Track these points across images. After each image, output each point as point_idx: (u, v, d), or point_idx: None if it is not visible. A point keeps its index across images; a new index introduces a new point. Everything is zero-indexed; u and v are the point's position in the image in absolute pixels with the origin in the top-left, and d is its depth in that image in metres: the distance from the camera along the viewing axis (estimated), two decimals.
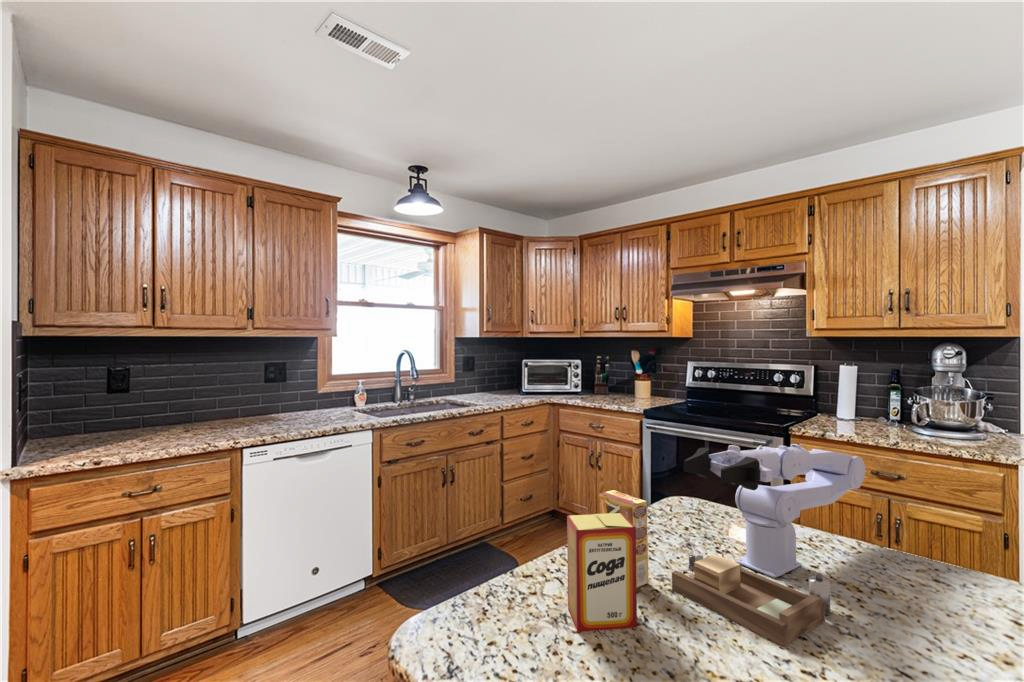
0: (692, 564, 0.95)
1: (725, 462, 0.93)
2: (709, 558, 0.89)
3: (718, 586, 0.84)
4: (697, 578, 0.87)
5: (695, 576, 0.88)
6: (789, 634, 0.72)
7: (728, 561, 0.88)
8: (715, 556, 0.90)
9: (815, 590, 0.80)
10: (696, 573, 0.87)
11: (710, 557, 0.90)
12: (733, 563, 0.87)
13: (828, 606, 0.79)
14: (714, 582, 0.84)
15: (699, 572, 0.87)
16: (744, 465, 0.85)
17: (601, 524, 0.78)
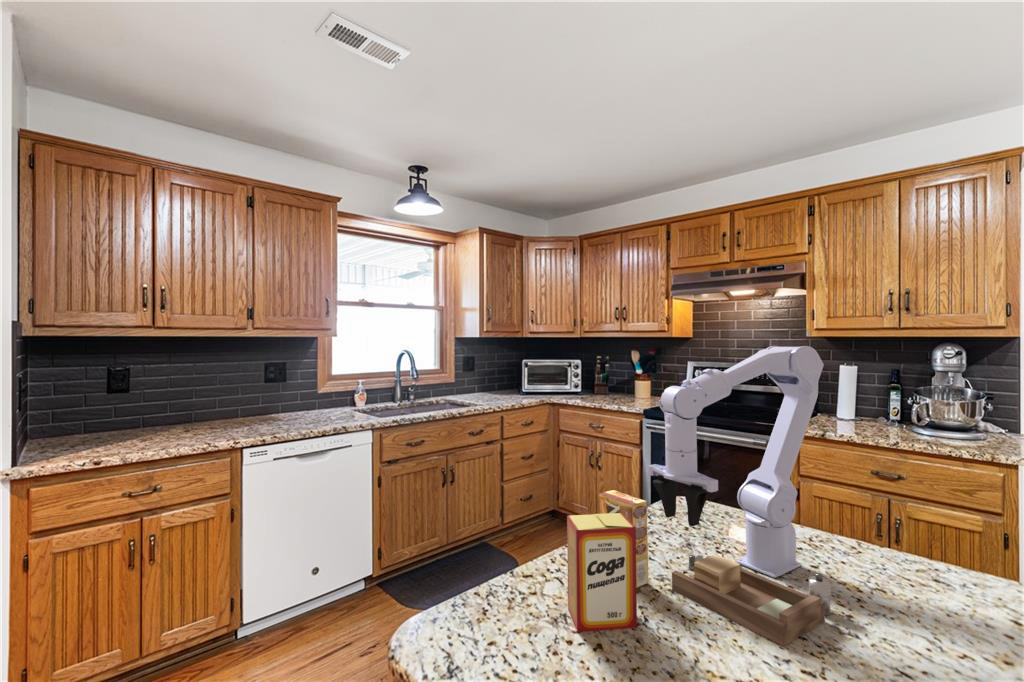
0: (692, 564, 0.95)
1: None
2: (709, 558, 0.89)
3: (718, 586, 0.84)
4: (697, 578, 0.87)
5: (695, 576, 0.88)
6: (789, 634, 0.72)
7: (728, 561, 0.88)
8: (715, 556, 0.90)
9: (815, 590, 0.80)
10: (696, 573, 0.87)
11: (710, 557, 0.90)
12: (733, 563, 0.87)
13: (828, 606, 0.79)
14: (714, 582, 0.84)
15: (699, 572, 0.87)
16: (693, 505, 0.89)
17: (601, 524, 0.78)
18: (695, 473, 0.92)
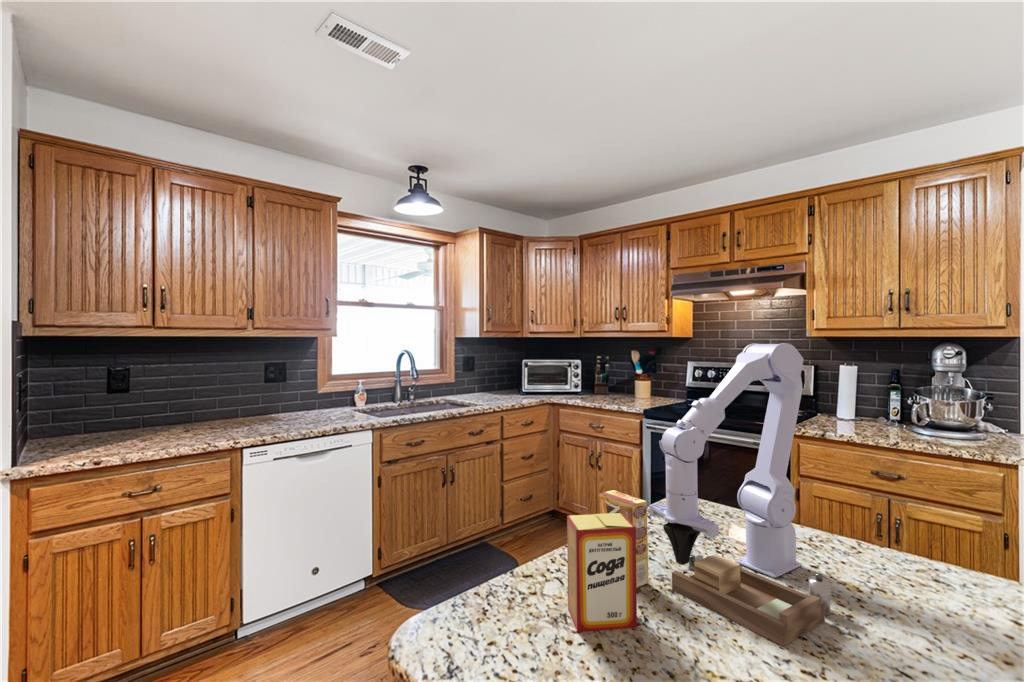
0: (692, 564, 0.95)
1: None
2: (709, 558, 0.89)
3: (718, 586, 0.84)
4: (697, 578, 0.87)
5: (695, 576, 0.88)
6: (789, 634, 0.72)
7: (728, 561, 0.88)
8: (715, 556, 0.90)
9: (815, 590, 0.80)
10: (696, 573, 0.87)
11: (710, 557, 0.90)
12: (733, 563, 0.87)
13: (828, 606, 0.79)
14: (714, 582, 0.84)
15: (699, 572, 0.87)
16: (683, 544, 0.91)
17: (601, 524, 0.78)
18: (696, 516, 0.91)
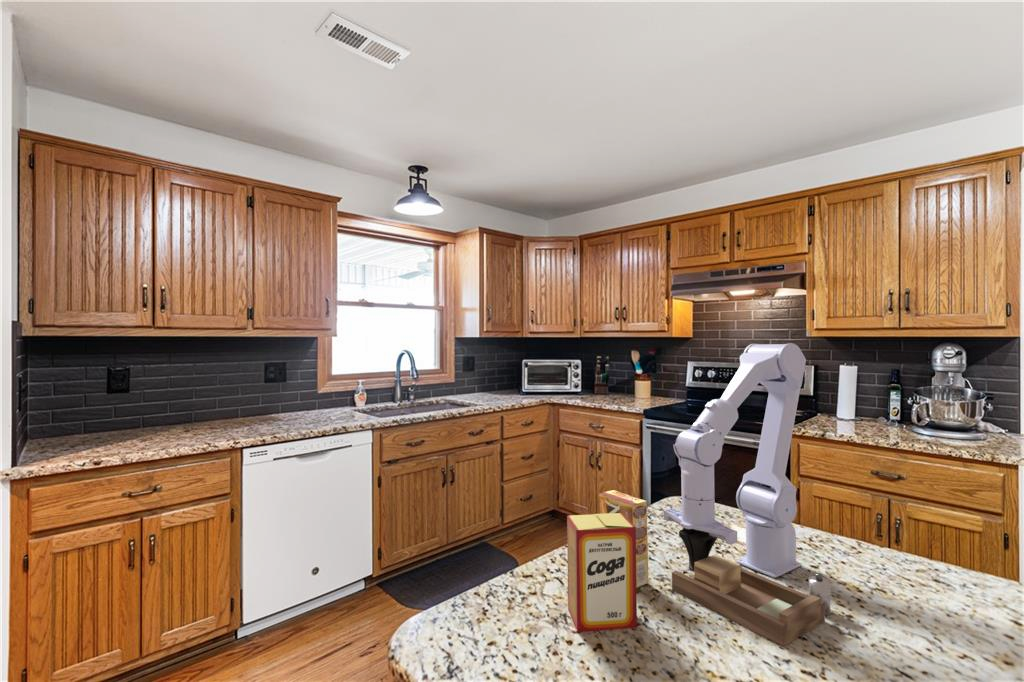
0: None
1: None
2: (709, 558, 0.89)
3: (718, 586, 0.83)
4: (697, 578, 0.87)
5: (695, 576, 0.87)
6: (789, 634, 0.72)
7: (728, 561, 0.88)
8: (715, 556, 0.90)
9: (815, 590, 0.80)
10: (696, 573, 0.87)
11: (710, 557, 0.89)
12: (733, 563, 0.87)
13: (828, 606, 0.79)
14: (715, 582, 0.84)
15: (699, 572, 0.87)
16: (699, 551, 0.88)
17: (601, 524, 0.78)
18: (713, 522, 0.88)
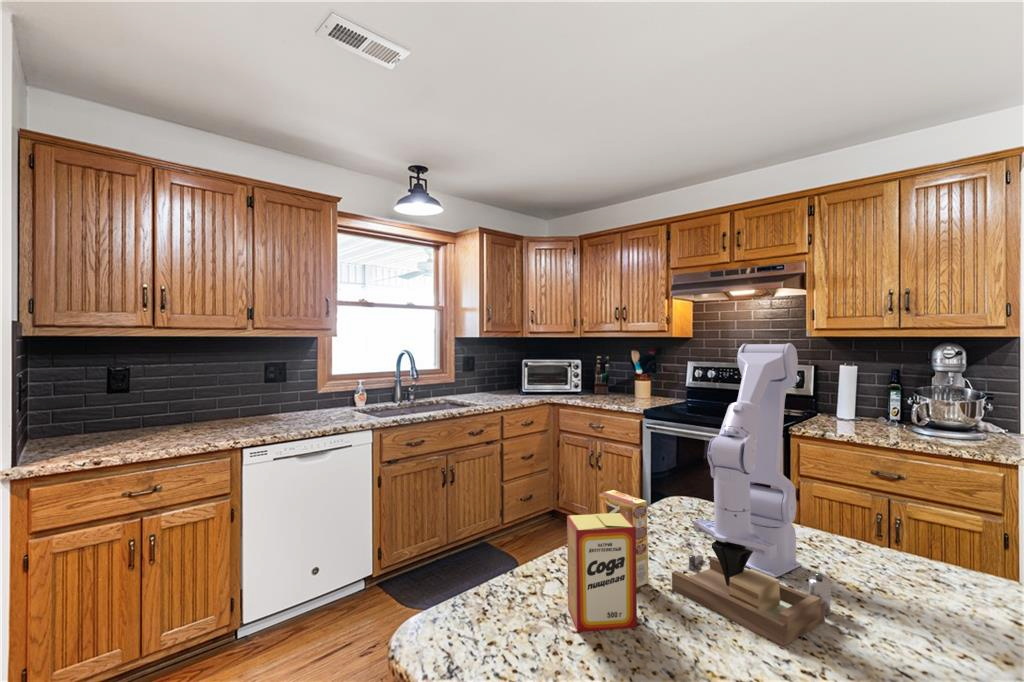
0: (692, 564, 0.95)
1: None
2: (745, 573, 0.83)
3: (757, 604, 0.78)
4: (733, 595, 0.81)
5: (730, 593, 0.82)
6: (789, 634, 0.72)
7: (766, 576, 0.82)
8: (751, 571, 0.84)
9: (815, 590, 0.80)
10: (732, 589, 0.81)
11: (746, 572, 0.84)
12: (772, 579, 0.81)
13: (828, 606, 0.79)
14: (753, 600, 0.78)
15: (735, 588, 0.81)
16: (735, 566, 0.82)
17: (601, 524, 0.78)
18: (749, 534, 0.83)
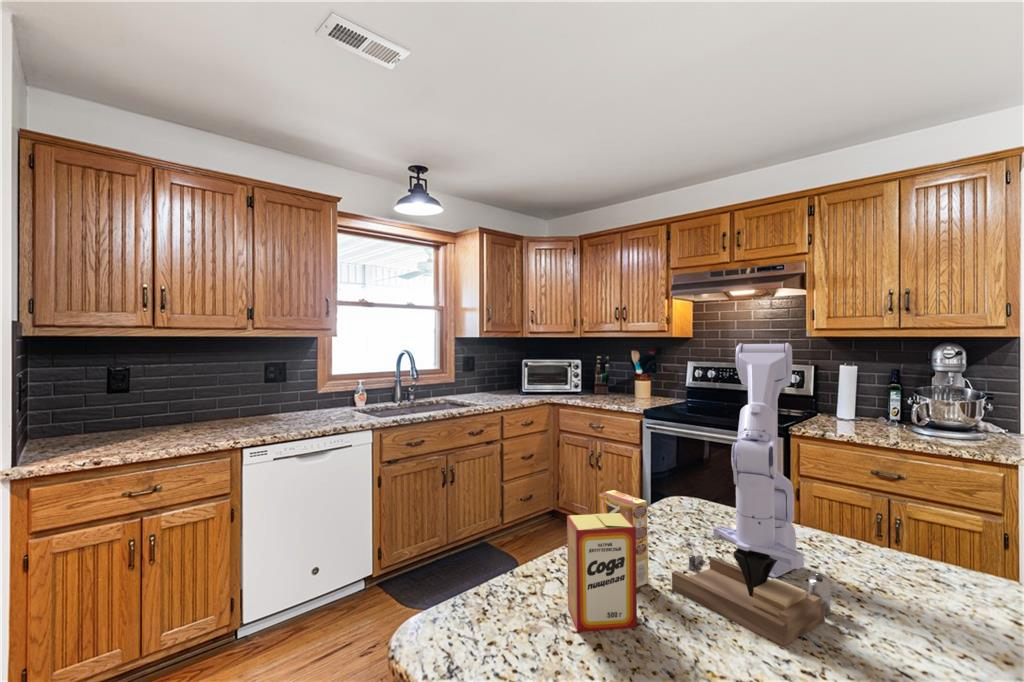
0: (692, 564, 0.95)
1: None
2: (769, 583, 0.80)
3: None
4: (757, 606, 0.78)
5: (754, 604, 0.78)
6: (789, 634, 0.72)
7: (791, 587, 0.78)
8: (775, 581, 0.80)
9: (815, 590, 0.80)
10: (756, 600, 0.78)
11: (770, 582, 0.80)
12: (798, 589, 0.78)
13: (828, 606, 0.79)
14: (779, 612, 0.75)
15: (760, 600, 0.77)
16: (759, 576, 0.79)
17: (601, 524, 0.78)
18: (773, 542, 0.79)
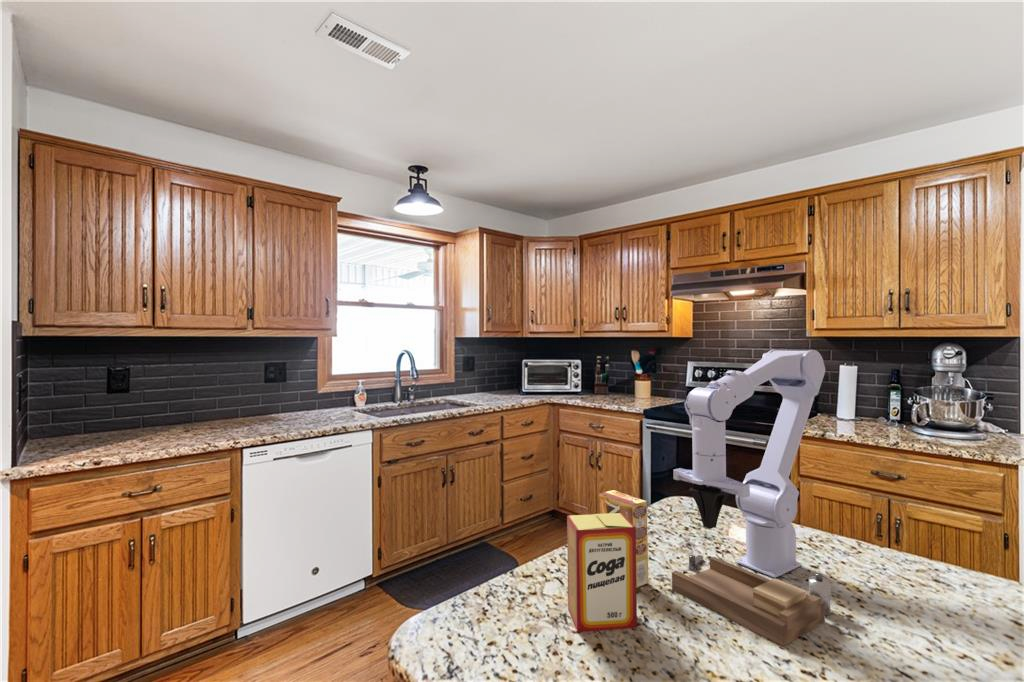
0: (692, 564, 0.95)
1: None
2: (769, 583, 0.80)
3: None
4: (757, 606, 0.77)
5: (754, 604, 0.78)
6: (789, 634, 0.72)
7: (791, 587, 0.78)
8: (775, 581, 0.80)
9: (815, 590, 0.80)
10: (756, 600, 0.78)
11: (770, 582, 0.80)
12: (798, 589, 0.78)
13: (828, 606, 0.79)
14: (779, 612, 0.75)
15: (760, 600, 0.77)
16: (711, 507, 0.88)
17: (601, 524, 0.78)
18: (724, 478, 0.88)
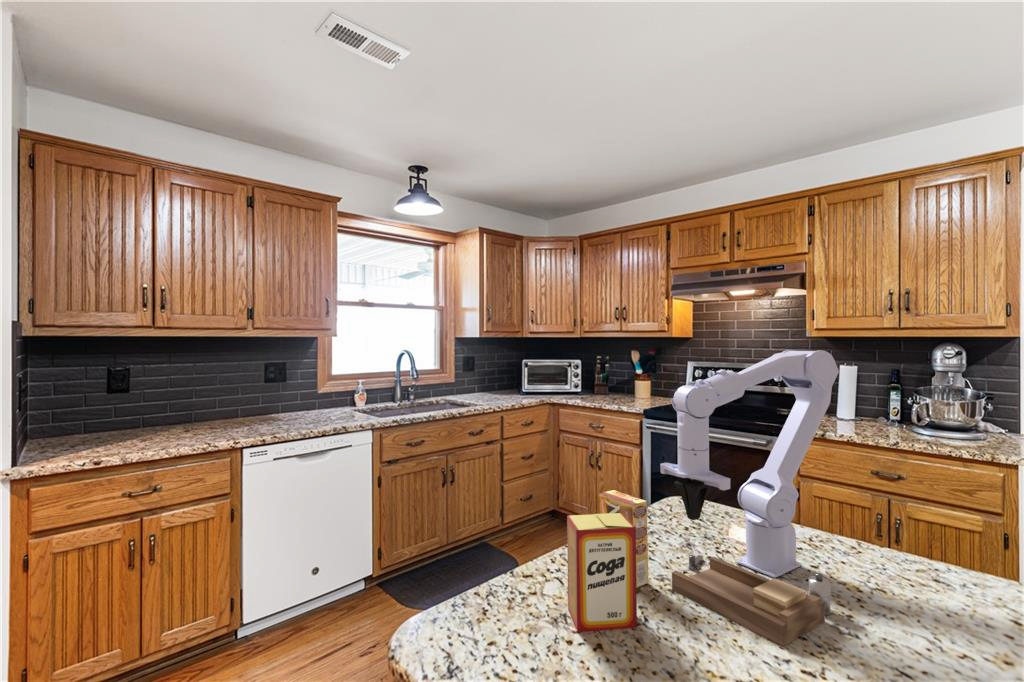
0: (692, 564, 0.95)
1: None
2: (769, 583, 0.80)
3: None
4: (757, 606, 0.77)
5: (754, 604, 0.78)
6: (789, 634, 0.72)
7: (791, 587, 0.78)
8: (775, 581, 0.80)
9: (815, 590, 0.80)
10: (756, 600, 0.78)
11: (770, 582, 0.80)
12: (798, 589, 0.78)
13: (828, 606, 0.79)
14: (779, 612, 0.75)
15: (760, 600, 0.77)
16: (695, 499, 0.93)
17: (601, 524, 0.78)
18: (707, 471, 0.93)
